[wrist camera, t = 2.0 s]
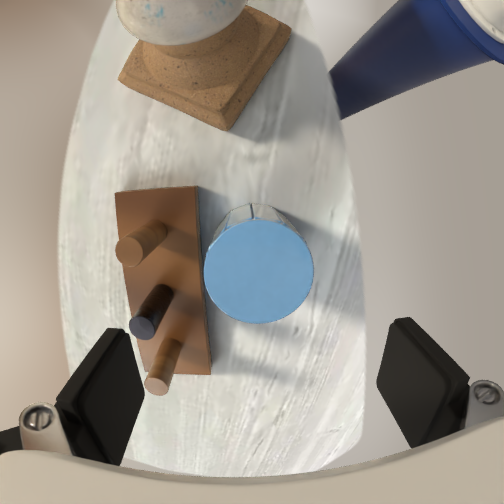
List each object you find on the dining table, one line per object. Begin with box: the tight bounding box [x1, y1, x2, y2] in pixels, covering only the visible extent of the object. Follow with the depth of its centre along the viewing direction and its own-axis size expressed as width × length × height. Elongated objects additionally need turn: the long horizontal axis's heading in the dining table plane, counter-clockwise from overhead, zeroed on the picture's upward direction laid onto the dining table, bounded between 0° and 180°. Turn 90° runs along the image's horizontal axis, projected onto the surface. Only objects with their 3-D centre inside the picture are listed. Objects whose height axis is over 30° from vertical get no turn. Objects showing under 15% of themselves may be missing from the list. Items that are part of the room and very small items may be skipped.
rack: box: [115, 186, 212, 396], centre depth 22 cm, size 18×7×8 cm, turn 1°
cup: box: [204, 203, 314, 324], centre depth 21 cm, size 7×7×8 cm
